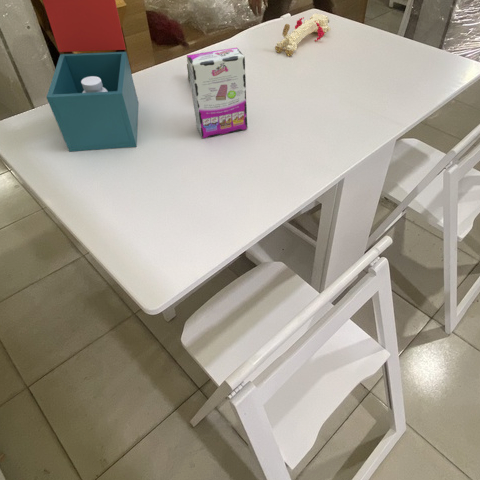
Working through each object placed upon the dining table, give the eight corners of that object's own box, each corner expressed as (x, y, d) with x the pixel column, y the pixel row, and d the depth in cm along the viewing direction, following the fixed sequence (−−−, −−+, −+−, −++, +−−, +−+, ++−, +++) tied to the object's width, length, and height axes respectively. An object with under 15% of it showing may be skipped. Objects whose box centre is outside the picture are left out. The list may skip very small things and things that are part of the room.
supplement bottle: (92, 118, 92) (78, 75, 85) (117, 116, 93) (104, 73, 86) (91, 130, 89) (76, 87, 81) (116, 128, 90) (103, 85, 82)
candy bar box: (240, 119, 96) (237, 46, 84) (247, 129, 94) (246, 56, 81) (195, 128, 93) (185, 53, 80) (201, 139, 90) (192, 64, 78)
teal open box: (136, 146, 88) (122, 93, 78) (69, 151, 86) (46, 97, 76) (138, 102, 99) (126, 51, 90) (79, 106, 97) (60, 54, 88)
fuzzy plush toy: (297, 63, 119) (337, 29, 131) (298, 31, 112) (340, -1, 123) (269, 54, 122) (311, 22, 134) (268, 23, 115) (313, -8, 127)
